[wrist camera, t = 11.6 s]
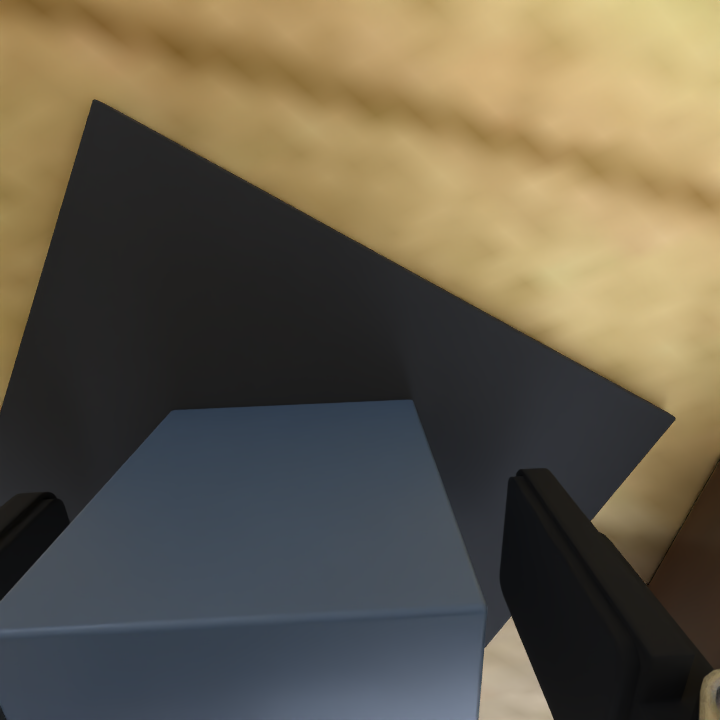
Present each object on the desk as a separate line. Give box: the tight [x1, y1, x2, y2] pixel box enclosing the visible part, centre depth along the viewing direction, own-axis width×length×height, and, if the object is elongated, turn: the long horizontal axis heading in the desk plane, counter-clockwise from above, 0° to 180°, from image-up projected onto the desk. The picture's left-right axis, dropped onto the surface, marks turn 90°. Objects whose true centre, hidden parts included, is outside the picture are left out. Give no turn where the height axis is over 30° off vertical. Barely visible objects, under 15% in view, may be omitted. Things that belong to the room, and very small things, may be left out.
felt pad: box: [0, 100, 676, 648], centre depth 11 cm, size 14×12×1 cm
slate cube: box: [0, 400, 487, 720], centre depth 8 cm, size 6×6×6 cm
